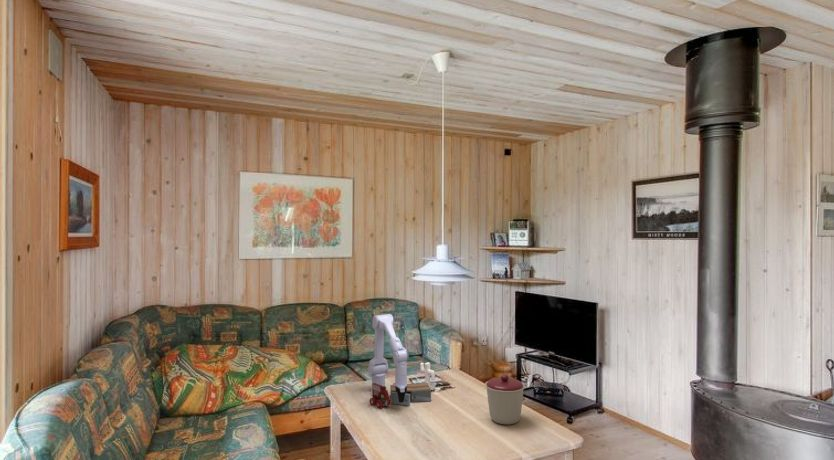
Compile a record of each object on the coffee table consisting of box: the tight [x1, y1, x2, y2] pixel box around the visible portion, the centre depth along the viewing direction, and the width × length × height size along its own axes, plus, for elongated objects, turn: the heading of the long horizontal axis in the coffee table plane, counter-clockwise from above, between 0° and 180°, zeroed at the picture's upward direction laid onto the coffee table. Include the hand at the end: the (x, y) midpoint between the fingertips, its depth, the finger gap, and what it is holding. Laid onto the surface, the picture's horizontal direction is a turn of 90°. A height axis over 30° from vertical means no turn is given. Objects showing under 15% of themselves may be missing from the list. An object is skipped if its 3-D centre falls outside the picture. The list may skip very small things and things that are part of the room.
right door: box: [391, 392, 411, 407], centre depth 234 cm, size 2×10×6 cm, turn 67°
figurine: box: [419, 361, 438, 391], centre depth 256 cm, size 7×9×15 cm
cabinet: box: [389, 382, 432, 403], centre depth 242 cm, size 12×20×6 cm, turn 97°
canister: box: [484, 373, 526, 426], centre depth 214 cm, size 18×18×21 cm
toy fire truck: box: [369, 383, 392, 410], centre depth 234 cm, size 7×12×10 cm, turn 44°
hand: (401, 401), depth 230 cm, fingers closed
